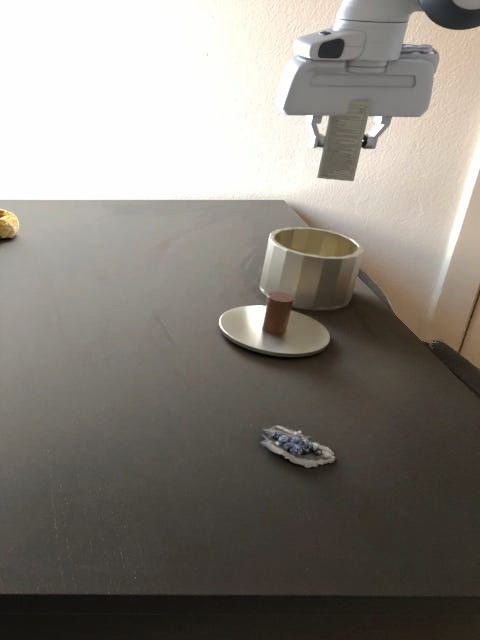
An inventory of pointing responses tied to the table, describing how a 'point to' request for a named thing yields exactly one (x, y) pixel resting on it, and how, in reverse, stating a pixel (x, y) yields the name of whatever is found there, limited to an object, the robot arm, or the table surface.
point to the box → (344, 142)
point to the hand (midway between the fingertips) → (341, 147)
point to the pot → (312, 267)
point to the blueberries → (296, 446)
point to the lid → (274, 328)
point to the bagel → (8, 224)
